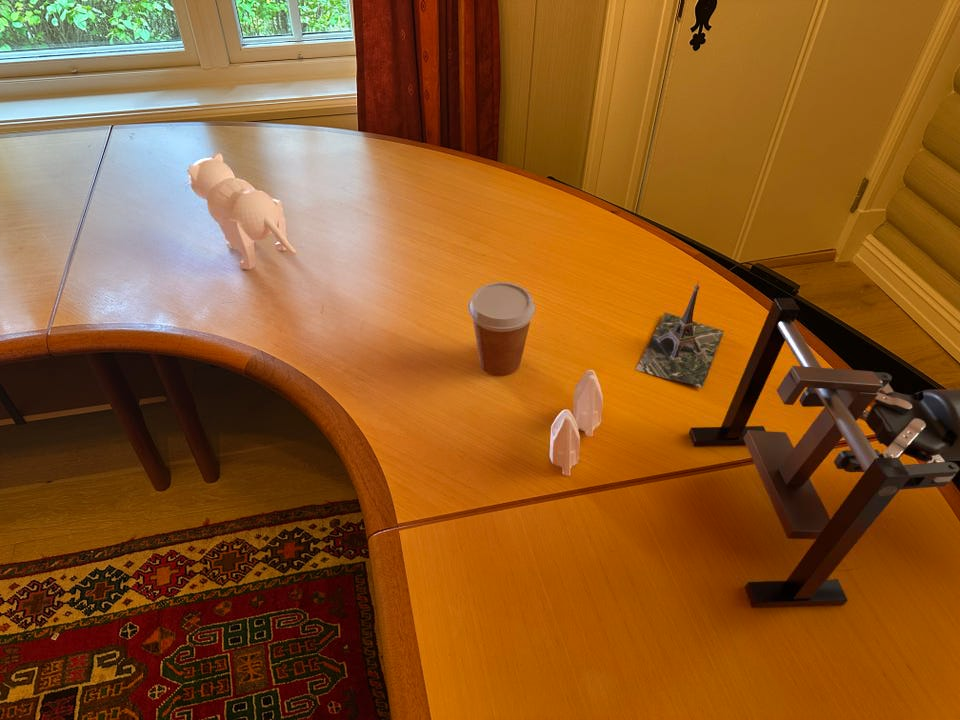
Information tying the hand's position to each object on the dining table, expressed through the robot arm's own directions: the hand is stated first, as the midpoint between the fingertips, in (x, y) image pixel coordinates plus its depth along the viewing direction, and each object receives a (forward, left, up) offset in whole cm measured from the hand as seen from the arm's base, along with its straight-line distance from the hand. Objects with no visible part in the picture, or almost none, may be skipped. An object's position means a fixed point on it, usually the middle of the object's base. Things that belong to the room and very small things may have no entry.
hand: (819, 427), depth 64 cm
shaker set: (+23, +10, -15) cm, 30 cm away
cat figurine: (+94, +21, -15) cm, 98 cm away
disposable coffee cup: (+41, +7, -15) cm, 45 cm away
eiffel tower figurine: (+24, -16, -15) cm, 33 cm away
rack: (+1, +1, -15) cm, 15 cm away
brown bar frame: (+2, +2, -10) cm, 11 cm away
